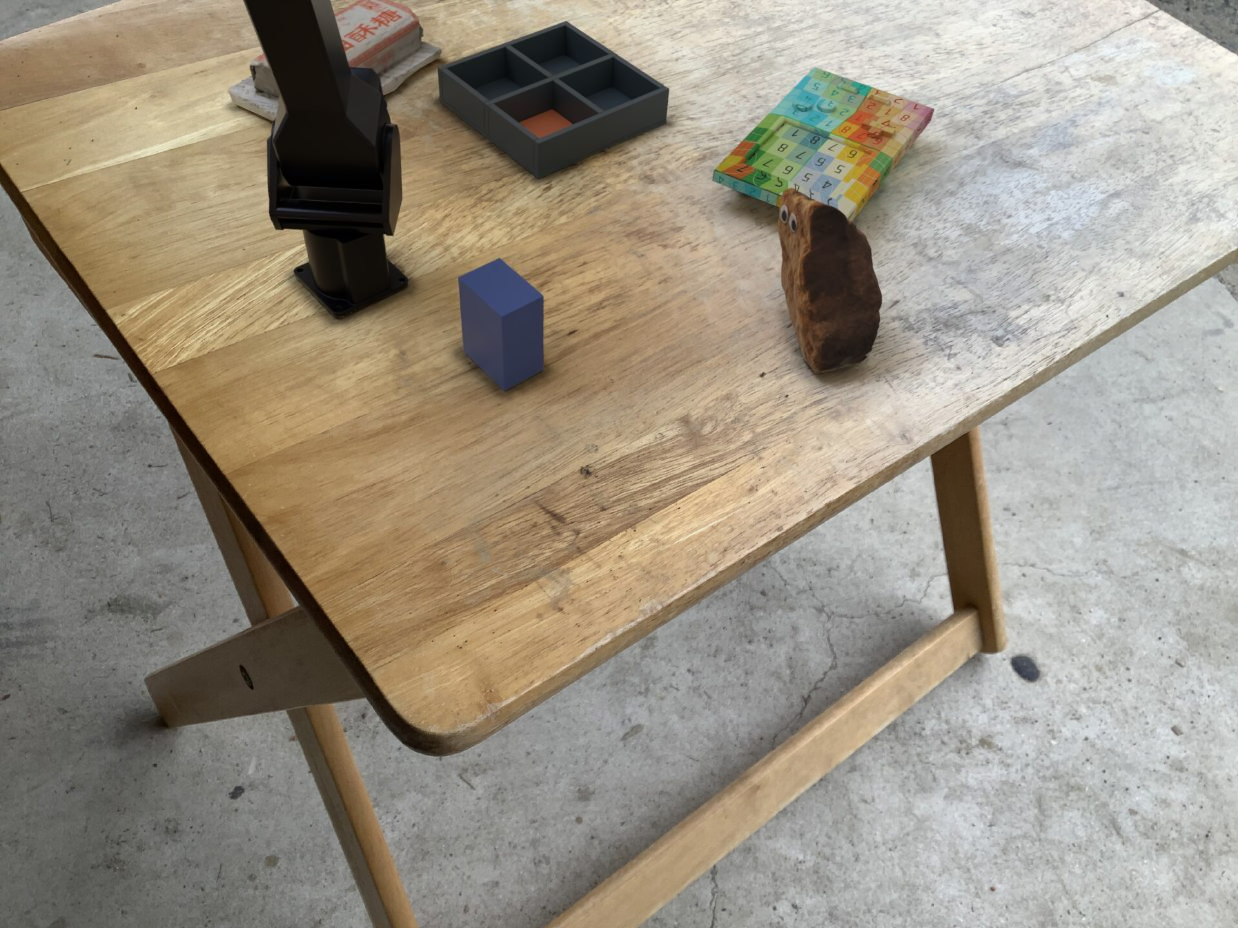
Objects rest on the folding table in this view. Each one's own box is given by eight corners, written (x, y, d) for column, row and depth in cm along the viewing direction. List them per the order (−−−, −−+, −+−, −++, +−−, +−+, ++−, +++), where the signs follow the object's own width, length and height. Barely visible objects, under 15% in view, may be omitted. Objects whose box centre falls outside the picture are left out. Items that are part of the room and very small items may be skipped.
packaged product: (358, -21, 105) (439, 12, 101) (364, 28, 108) (443, 60, 105) (217, 55, 94) (303, 94, 91) (229, 106, 98) (312, 144, 95)
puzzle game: (937, 99, 96) (847, 211, 85) (923, 145, 100) (835, 259, 88) (817, 57, 100) (715, 160, 88) (807, 103, 103) (708, 208, 92)
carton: (543, 370, 78) (544, 295, 73) (504, 391, 77) (501, 316, 71) (502, 332, 81) (499, 257, 75) (463, 352, 79) (457, 277, 74)
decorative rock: (756, 278, 86) (779, 161, 78) (829, 272, 87) (859, 156, 79) (800, 385, 79) (831, 268, 71) (879, 378, 80) (918, 261, 72)
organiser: (666, 123, 100) (669, 88, 97) (538, 179, 93) (538, 143, 91) (565, 55, 107) (566, 20, 104) (439, 102, 100) (437, 67, 98)
